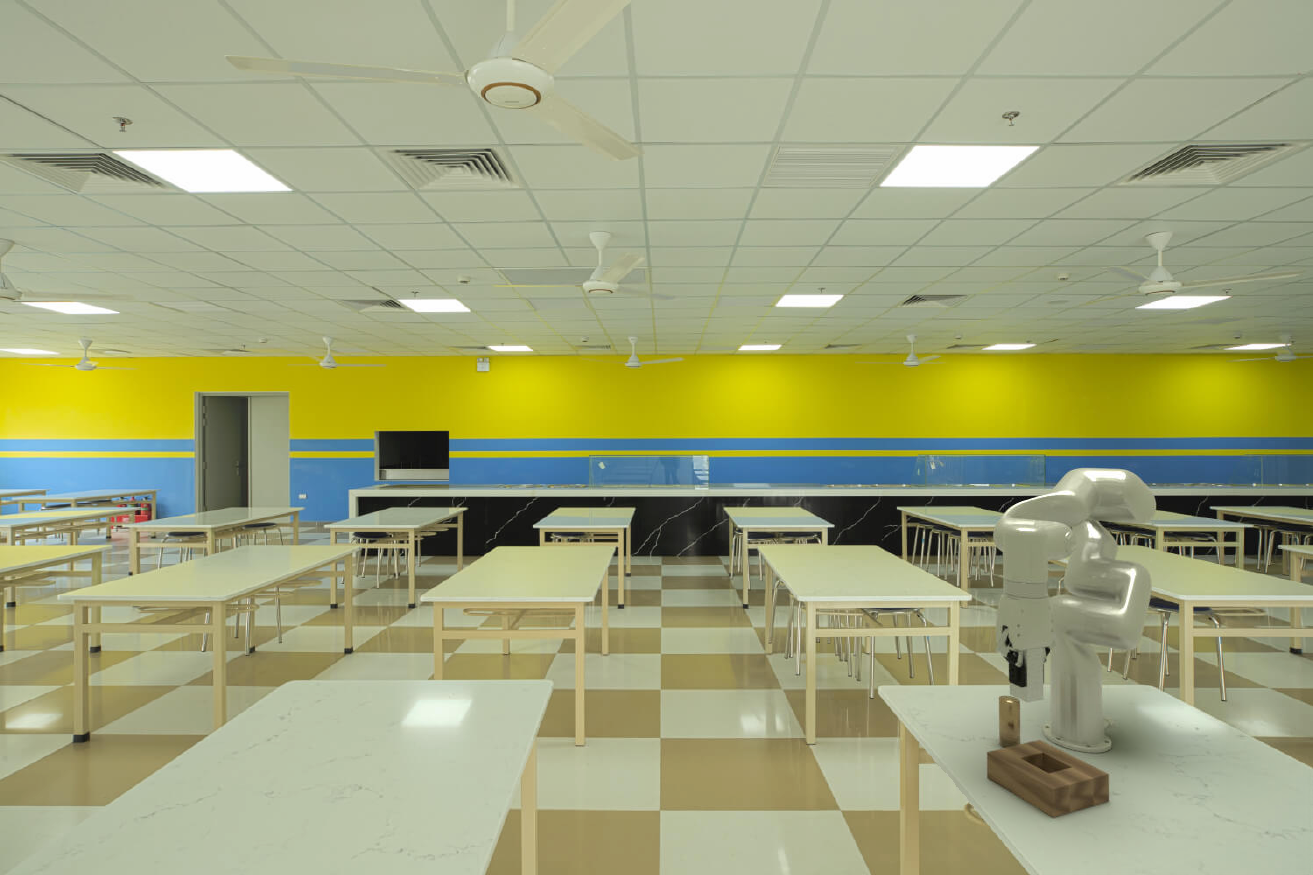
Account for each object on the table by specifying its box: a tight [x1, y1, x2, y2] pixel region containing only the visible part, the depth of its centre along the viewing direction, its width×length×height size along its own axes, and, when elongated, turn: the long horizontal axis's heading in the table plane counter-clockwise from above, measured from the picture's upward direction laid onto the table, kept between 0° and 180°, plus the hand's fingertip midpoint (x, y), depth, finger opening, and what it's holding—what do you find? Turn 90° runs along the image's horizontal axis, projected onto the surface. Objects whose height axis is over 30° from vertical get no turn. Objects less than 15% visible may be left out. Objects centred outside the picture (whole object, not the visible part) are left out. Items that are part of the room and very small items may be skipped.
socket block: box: [986, 739, 1110, 818], centre depth 121 cm, size 14×14×5 cm
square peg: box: [1009, 647, 1044, 703], centre depth 123 cm, size 4×4×10 cm
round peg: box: [998, 695, 1021, 749], centre depth 137 cm, size 4×4×10 cm
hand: (1026, 682), depth 123 cm, fingers closed on square peg, 4 cm apart
